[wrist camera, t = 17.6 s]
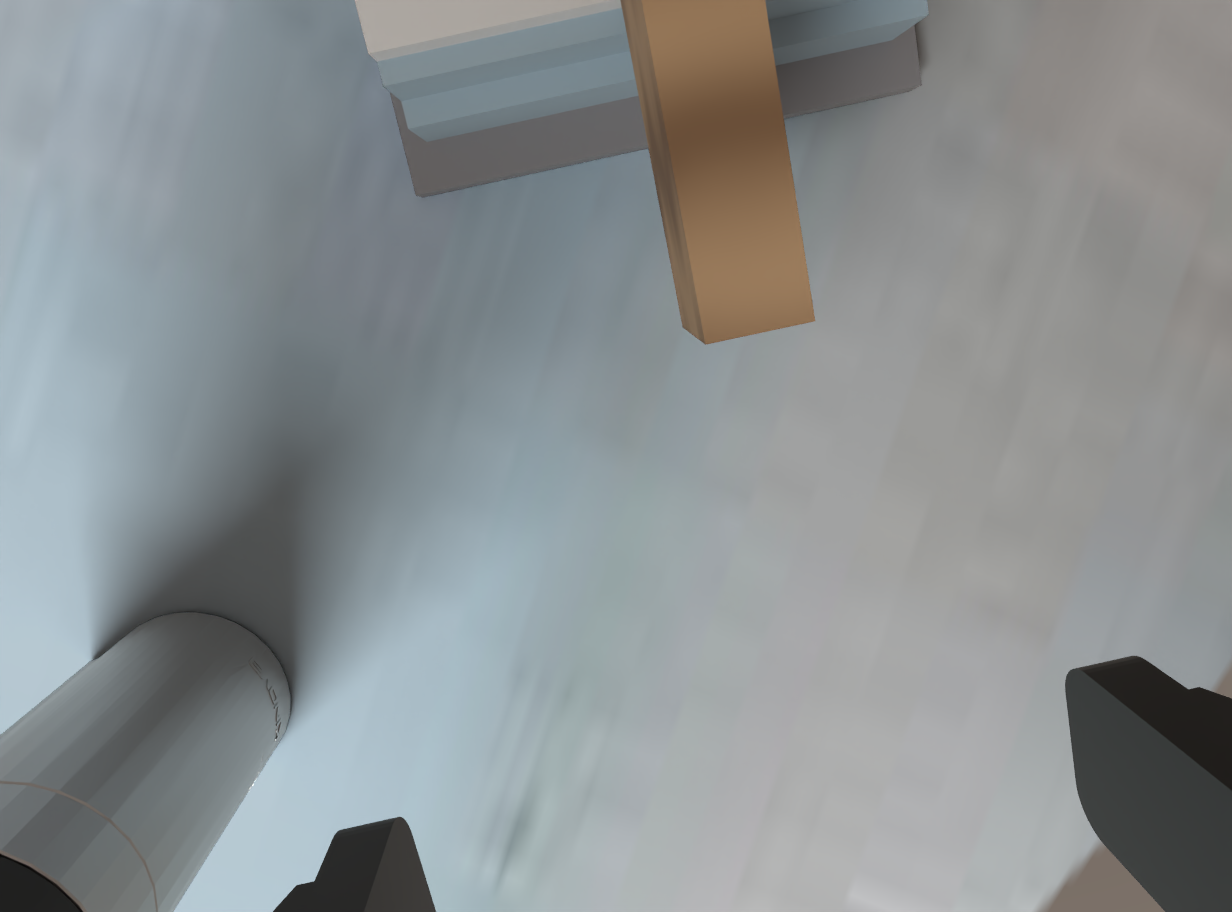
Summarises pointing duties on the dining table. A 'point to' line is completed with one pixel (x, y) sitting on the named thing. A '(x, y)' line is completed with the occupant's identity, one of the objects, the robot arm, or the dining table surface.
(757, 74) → the walnut plank
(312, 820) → the dining table surface
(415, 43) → the fulcrum ridge
